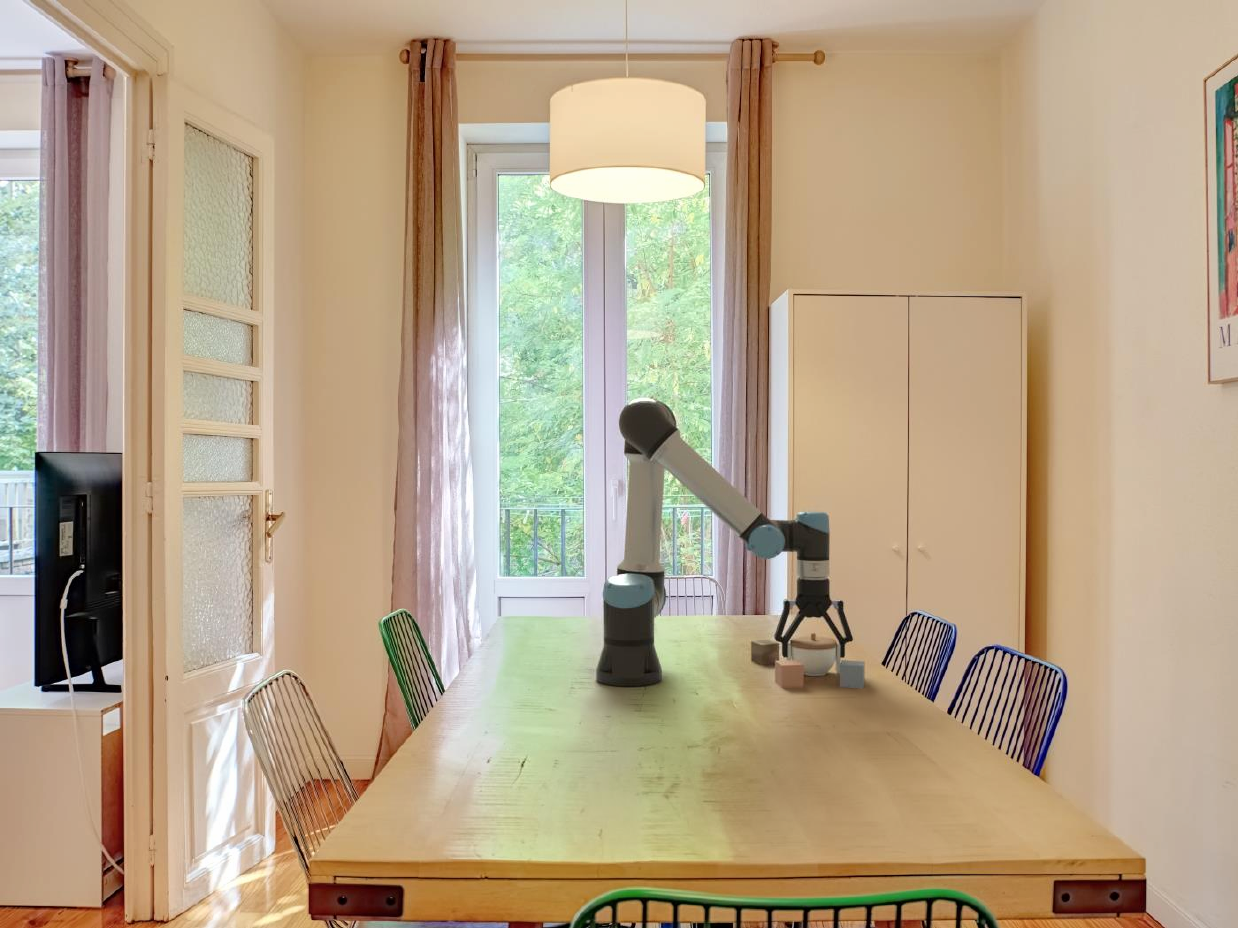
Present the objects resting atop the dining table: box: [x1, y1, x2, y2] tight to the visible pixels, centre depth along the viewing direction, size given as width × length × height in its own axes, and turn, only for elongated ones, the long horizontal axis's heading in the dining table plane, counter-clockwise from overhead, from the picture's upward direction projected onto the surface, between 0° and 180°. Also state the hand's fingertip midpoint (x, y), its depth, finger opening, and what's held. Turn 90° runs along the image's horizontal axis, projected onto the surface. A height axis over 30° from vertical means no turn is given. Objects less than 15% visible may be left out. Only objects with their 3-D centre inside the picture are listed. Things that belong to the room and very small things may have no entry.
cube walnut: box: [750, 639, 780, 666], centre depth 243 cm, size 5×5×5 cm
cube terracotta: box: [774, 659, 804, 689], centre depth 220 cm, size 5×5×5 cm
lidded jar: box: [789, 632, 838, 677], centre depth 231 cm, size 11×11×9 cm
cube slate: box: [839, 659, 866, 689], centre depth 220 cm, size 5×5×5 cm
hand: (813, 671), depth 231 cm, fingers closed on lidded jar, 11 cm apart
